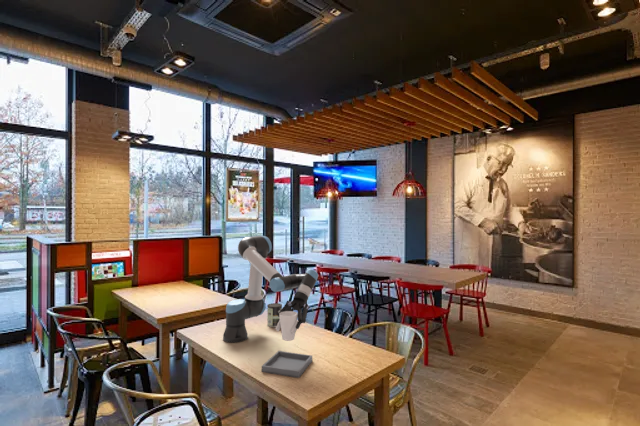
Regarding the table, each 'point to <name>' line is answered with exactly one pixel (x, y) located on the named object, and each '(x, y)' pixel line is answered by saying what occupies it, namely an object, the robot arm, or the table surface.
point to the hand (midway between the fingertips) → (284, 331)
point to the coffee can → (273, 314)
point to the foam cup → (287, 324)
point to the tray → (287, 364)
